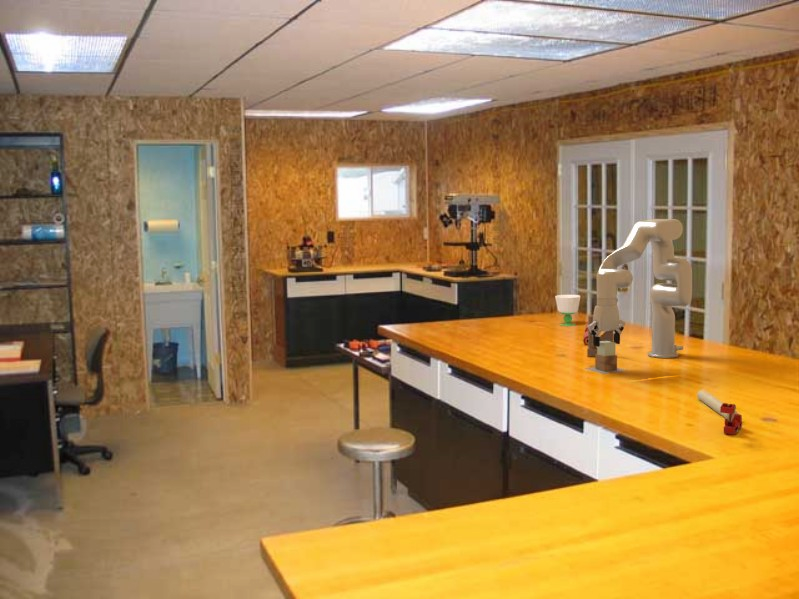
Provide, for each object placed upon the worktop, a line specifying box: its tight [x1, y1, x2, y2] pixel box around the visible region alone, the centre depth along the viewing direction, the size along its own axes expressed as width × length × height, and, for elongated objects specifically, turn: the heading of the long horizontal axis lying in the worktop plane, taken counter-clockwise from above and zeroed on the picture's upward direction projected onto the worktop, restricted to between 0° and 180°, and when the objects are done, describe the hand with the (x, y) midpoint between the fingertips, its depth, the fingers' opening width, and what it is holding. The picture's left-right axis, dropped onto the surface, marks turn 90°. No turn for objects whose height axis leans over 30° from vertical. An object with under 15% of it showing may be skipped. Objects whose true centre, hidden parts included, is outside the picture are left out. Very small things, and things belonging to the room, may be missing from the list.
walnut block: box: [594, 354, 618, 372], centre depth 331 cm, size 6×6×6 cm
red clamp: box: [720, 402, 743, 435], centre depth 242 cm, size 3×14×10 cm, turn 145°
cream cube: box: [597, 341, 616, 356], centre depth 331 cm, size 5×5×5 cm
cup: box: [554, 294, 581, 327], centre depth 454 cm, size 14×14×16 cm
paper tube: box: [696, 389, 739, 419], centre depth 268 cm, size 4×30×4 cm, turn 179°
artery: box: [582, 323, 588, 346], centre depth 410 cm, size 42×5×5 cm, turn 166°
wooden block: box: [586, 314, 614, 358], centre depth 362 cm, size 4×11×18 cm, turn 67°
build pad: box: [584, 366, 628, 375], centre depth 332 cm, size 12×12×1 cm
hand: (606, 344), depth 331 cm, fingers open, 9 cm apart
